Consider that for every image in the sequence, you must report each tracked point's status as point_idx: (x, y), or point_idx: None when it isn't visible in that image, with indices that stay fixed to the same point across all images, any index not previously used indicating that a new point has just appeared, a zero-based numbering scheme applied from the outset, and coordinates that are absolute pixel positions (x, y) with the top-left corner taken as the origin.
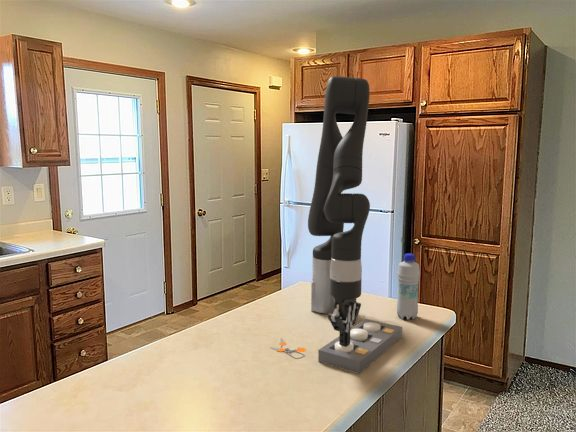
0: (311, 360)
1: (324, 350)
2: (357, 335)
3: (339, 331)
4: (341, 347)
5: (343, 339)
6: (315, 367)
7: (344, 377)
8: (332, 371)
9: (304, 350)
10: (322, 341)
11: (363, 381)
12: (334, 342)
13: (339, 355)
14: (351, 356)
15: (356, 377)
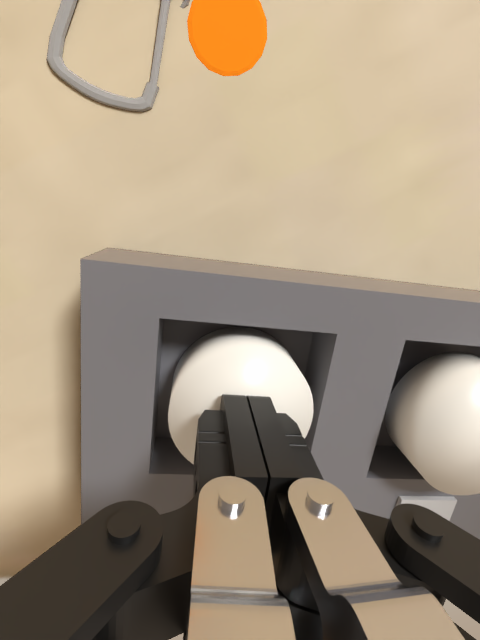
0: (98, 194)
1: (98, 309)
2: (415, 453)
3: (195, 496)
4: (182, 421)
5: (194, 475)
6: (18, 266)
7: (16, 455)
8: (38, 377)
9: (228, 61)
10: (435, 131)
11: (39, 535)
12: (289, 314)
13: (85, 435)
14: (117, 501)
15: (57, 498)
